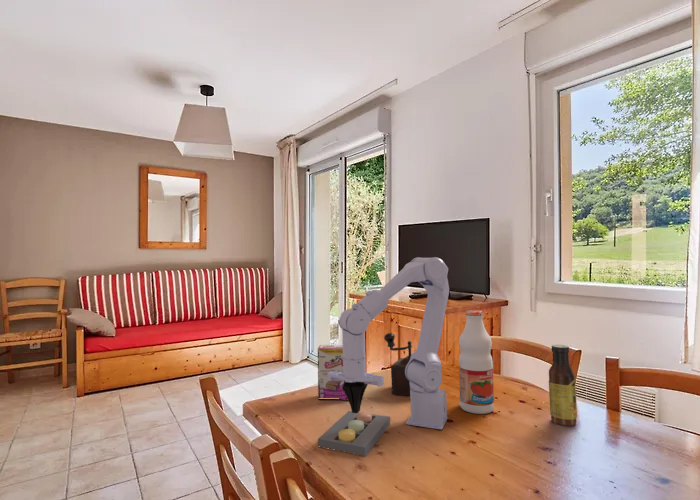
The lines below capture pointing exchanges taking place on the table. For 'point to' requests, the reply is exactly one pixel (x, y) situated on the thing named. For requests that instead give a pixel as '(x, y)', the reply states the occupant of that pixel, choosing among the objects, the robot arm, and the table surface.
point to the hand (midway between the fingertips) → (356, 411)
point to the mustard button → (347, 435)
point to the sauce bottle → (562, 388)
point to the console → (362, 440)
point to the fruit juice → (476, 366)
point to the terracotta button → (364, 417)
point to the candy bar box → (327, 362)
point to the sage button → (356, 425)
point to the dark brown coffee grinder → (399, 369)
